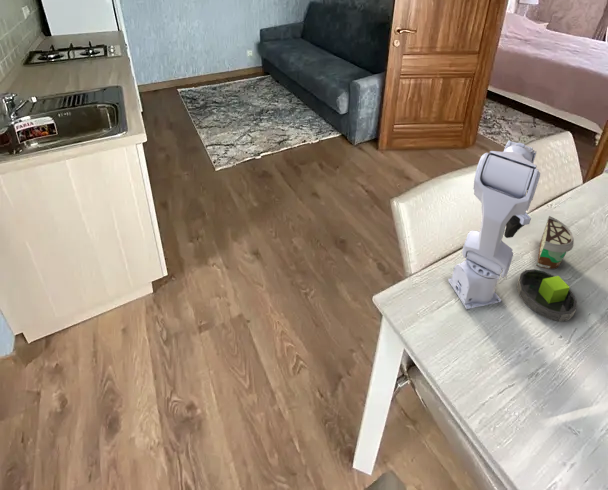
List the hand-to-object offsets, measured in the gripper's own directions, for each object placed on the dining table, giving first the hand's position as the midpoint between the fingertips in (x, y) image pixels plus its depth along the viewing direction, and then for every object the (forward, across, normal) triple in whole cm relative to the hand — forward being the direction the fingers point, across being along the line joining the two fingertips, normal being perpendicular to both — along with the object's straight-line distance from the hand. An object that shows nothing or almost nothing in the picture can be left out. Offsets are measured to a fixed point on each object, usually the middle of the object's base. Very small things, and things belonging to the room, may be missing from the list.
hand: (498, 225), depth 94 cm
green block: (+9, -15, -5) cm, 18 cm away
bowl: (+9, -15, -3) cm, 18 cm away
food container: (+10, -6, -14) cm, 18 cm away
